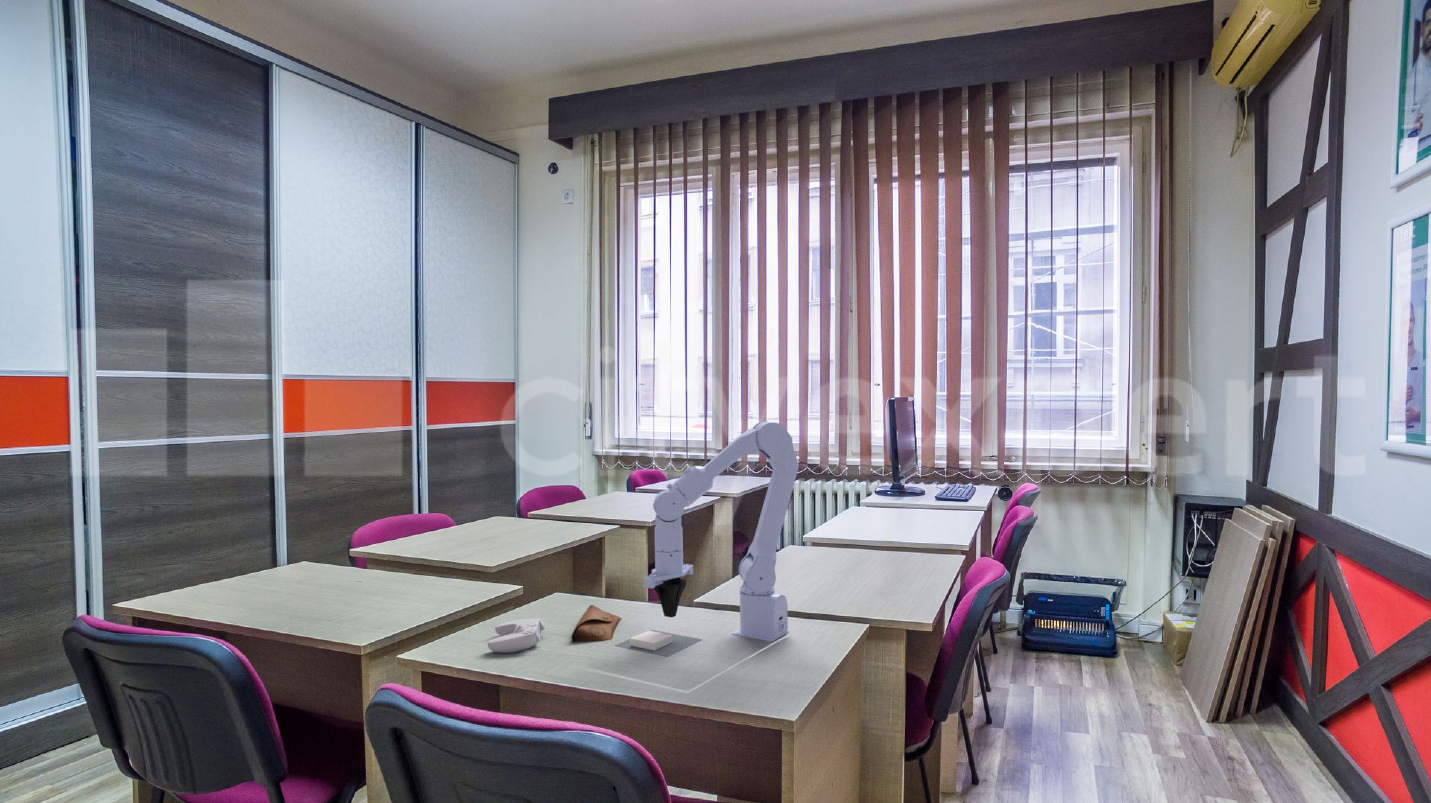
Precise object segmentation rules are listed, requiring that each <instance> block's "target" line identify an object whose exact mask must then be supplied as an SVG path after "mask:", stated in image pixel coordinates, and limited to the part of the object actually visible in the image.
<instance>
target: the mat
mask: <svg viewBox="0 0 1431 803" xmlns="http://www.w3.org/2000/svg"><path fill="white" fill-rule="evenodd" d="M649 631H654V632H659V633H665V634H670V635H673V642H672V643H670V644H668V645H666V646H664V647H662V648H659V649H657V650H655V651H653V650H648V649H643V648H638V647H633V646H630V638H629V639H627V640H624V641H622V642H619V643H617V644H615V645H614V646H615V647H620V648H623V649H629V650H633V651H638V652H643V653H648V654H653V655H658V656H662V657H667V658H668V657H671V656H672V655H674V654H676V653H679V652H681V651H683V650H685V649H687V648H689V647H691V646H693V645H695V644H697V643H699V642H701V641H704V640H703V638H697V637H692V636H687V635H681V634H676V633H675V634H674V633H670V632H664V631H659V630H654V629H651V630H649Z"/></svg>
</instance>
